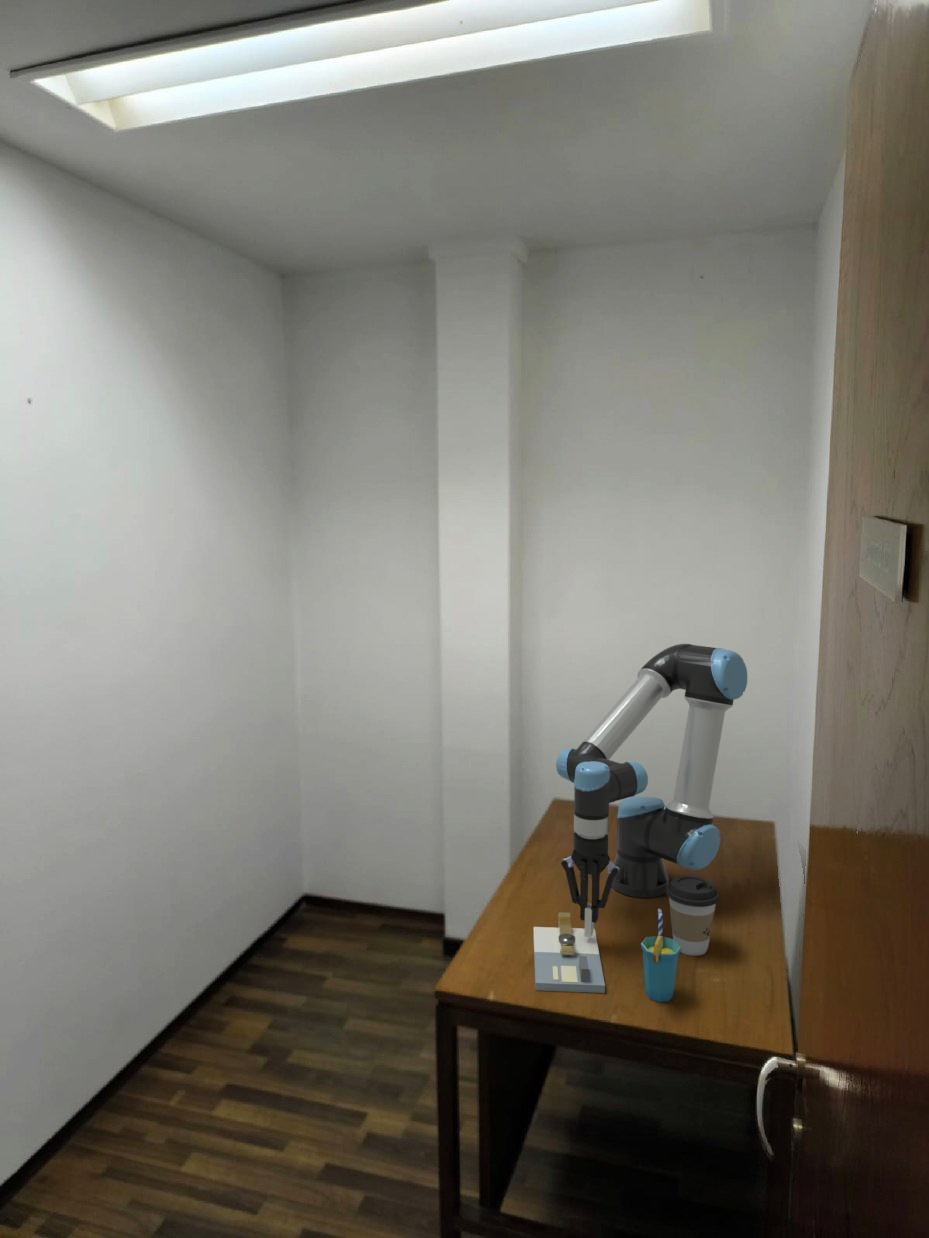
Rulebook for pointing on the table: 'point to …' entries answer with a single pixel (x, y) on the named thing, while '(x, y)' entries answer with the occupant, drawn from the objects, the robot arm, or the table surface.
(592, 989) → the door fixture
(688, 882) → the coffee cup
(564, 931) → the latch bar
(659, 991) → the cup
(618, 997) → the table surface
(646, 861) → the robot arm
